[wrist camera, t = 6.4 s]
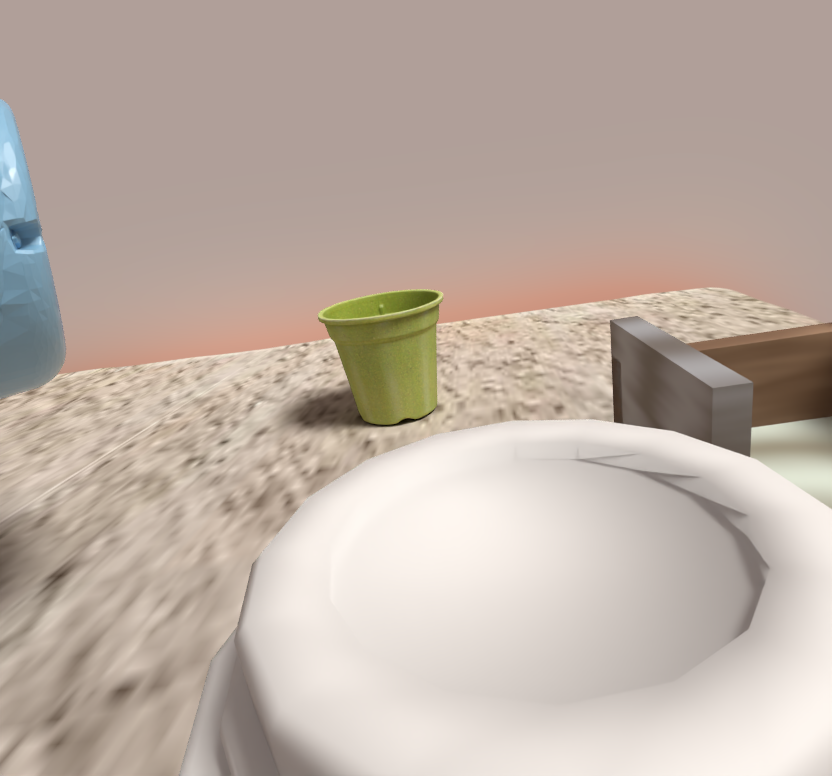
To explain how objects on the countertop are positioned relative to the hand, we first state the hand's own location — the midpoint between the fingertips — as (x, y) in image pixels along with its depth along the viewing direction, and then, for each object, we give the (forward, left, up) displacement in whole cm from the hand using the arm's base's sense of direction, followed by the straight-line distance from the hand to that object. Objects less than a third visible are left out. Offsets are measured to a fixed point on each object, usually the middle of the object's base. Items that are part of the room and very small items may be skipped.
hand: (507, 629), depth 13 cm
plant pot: (-32, +10, -8) cm, 34 cm away
